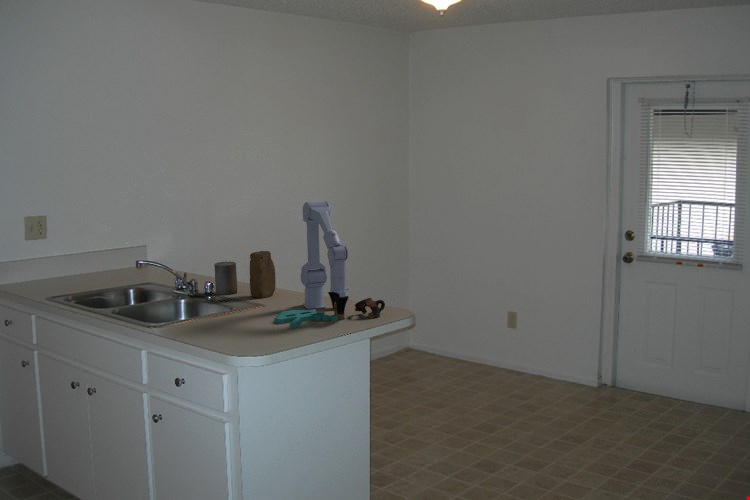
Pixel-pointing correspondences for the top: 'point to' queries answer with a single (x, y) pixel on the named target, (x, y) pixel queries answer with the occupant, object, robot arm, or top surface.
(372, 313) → the broken pottery
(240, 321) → the top surface
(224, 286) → the pillar candle
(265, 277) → the brown jar
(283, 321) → the alien figure
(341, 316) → the wooden mallet
